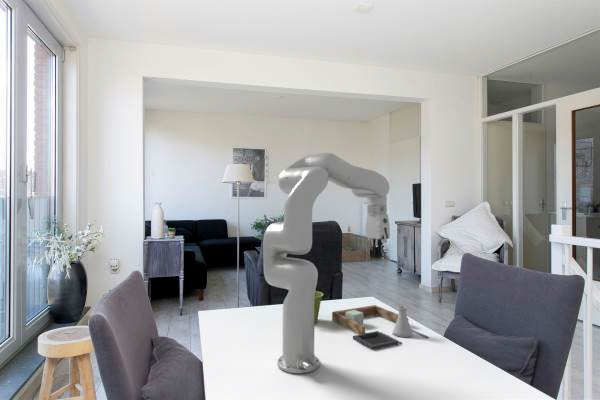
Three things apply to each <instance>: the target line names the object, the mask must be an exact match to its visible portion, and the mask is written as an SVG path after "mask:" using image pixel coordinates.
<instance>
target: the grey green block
mask: <svg viewBox="0 0 600 400" xmlns="http://www.w3.org/2000/svg"><path fill="white" fill-rule="evenodd" d="M345 317H347V318H349V319H351V320H353V321H355V322H357V323H359V324H361V325H363V326H364V317H363V313H362V312H359V311H356V310H352V311H348V312H345Z"/></svg>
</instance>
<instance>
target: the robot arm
mask: <svg viewBox="0 0 600 400" xmlns="http://www.w3.org/2000/svg"><path fill="white" fill-rule="evenodd" d="M277 182H278V186H279V189H280V190H281V192H283V193H285V194H287V195H288V196H287V198H286V200H285V201H284V206H283V221H276V222H272V223H271V224H270V225H268V226H267V228H266V229H265V231H264V234H263V241H262V243H263V246H262V249H263V251H262V252H263V253H262V254H263V262H262V263H263V275H264V278H265V282H266V283H267V284H268V285H269V286H272V287H276V288H279V289H285V290H288V293H287V295H286V296H285V298H284V300H283V303H282V355H281V356H279V358H278V359H277V367H278V368H279V370H281V371H283V372H286V373H290V374H307V373H311V372H313V371H315V370H317V369H318V368H319V366H320V358H318V357H317V356H316V355H315V323H314V300H315V291H317V290H316V288H317V284H318V277H319V276H318V275H319V272H318V269H317V267H316V266H315V263H313V262H311V261H310V260H308V259H307V260H306V259H304V258H303V259H302V258H295V257H287V255H288V254H289V255H301V256H302V255H306V254H308V253H309V252H310V251H311V249H312V246H313V208H314V203H315V202H316V201H317V199H318V197H319V195H320V194H321V193H323V191H325V189H326V187H327V186H328V183H329V182H331V183H333V184H335V185H337V186H339V187H341V188H344V189H349V190H350V189H351V192H352V194H353V195H354V196H355V197H358V198H367V199H366V200H367V203H366V207H367V209H366V210H367V211H366V212H367V214H366V221H365V236H366V238H367V241H369V243H370V244H371V249H372V254H371V255H372V257H375V258H380V257H382V247H383V245H384V244H385V243H388V239H390V238H391V230H390V229H391V227H390V219H389V215H388V213H387V211H388V207H387V206H388V202H387V201H388V197H387V196H388V194H389V192H390V182H389V181H388V179H387V178H386V177H385V176H384V175H382V174H381V173H379V172H377V171H374V170H372V169H367V168H363V167H359V166H355V165H352V164H350V163H349V162H347V161H346V160H344V159H343V158H341V157H339V156H338V155H336V154H334V153H332V152H320V153H313V154H312V153H311V154H307V155H304V156H303V157H301V158H299V159H298V160H296V161H295V162H293V163H292V164H290V165H288V166H287V167H286V168H284V169H283V170H281V172H280V174H279V176H278V181H277Z"/></svg>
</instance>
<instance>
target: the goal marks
mask: <svg viewBox="0 0 600 400" xmlns="http://www.w3.org/2000/svg"><path fill="white" fill-rule="evenodd" d="M411 330H412V333H413V334H416V335H419V336H420V337H424V338H426V339H428V338H429V335H426V334H424V333H422V332H419V331H416V330H415V329H412V328H411ZM380 332H381V333H383V334H385V335H387V334H386V333H384V332H382V331H380ZM387 336H389V337H391V338H393V339H395V340H397V341H398V345H402V344H403V341H400V340H398V339H396V338H394V337H392V336H390V335H387Z"/></svg>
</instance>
